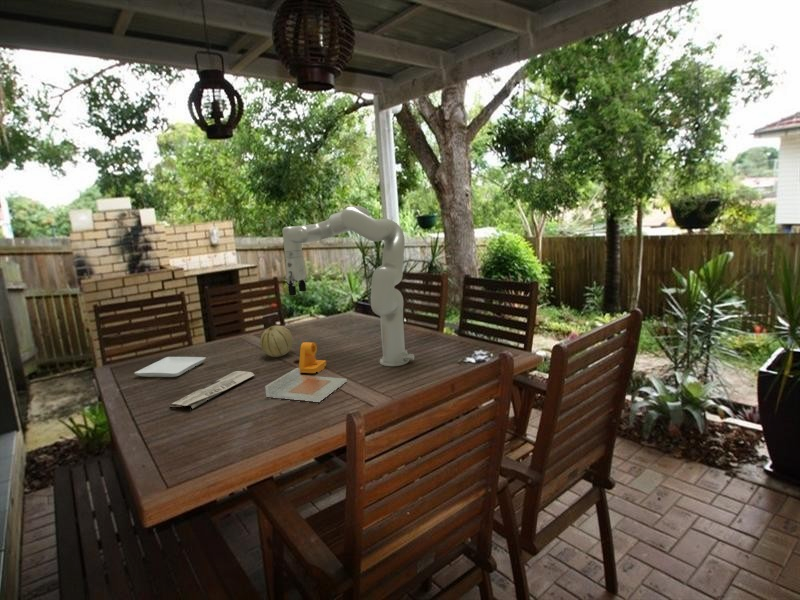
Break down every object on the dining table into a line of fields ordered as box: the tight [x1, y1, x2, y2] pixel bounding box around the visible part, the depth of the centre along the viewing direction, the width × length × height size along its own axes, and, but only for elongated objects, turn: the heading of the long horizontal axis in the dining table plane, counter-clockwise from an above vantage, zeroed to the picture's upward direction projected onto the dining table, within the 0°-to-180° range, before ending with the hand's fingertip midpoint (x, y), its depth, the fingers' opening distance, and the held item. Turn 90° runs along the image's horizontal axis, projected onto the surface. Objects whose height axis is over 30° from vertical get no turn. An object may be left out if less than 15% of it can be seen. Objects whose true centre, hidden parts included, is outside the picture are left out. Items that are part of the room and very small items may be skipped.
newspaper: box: [168, 370, 255, 410], centre depth 173 cm, size 35×12×4 cm, turn 161°
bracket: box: [298, 341, 327, 374], centre depth 189 cm, size 11×7×12 cm, turn 162°
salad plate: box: [134, 356, 207, 378], centre depth 203 cm, size 21×21×3 cm
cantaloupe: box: [259, 325, 294, 358], centre depth 212 cm, size 15×15×15 cm
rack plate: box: [264, 367, 348, 402], centre depth 168 cm, size 22×20×4 cm
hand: (297, 293), depth 203 cm, fingers open, 9 cm apart
